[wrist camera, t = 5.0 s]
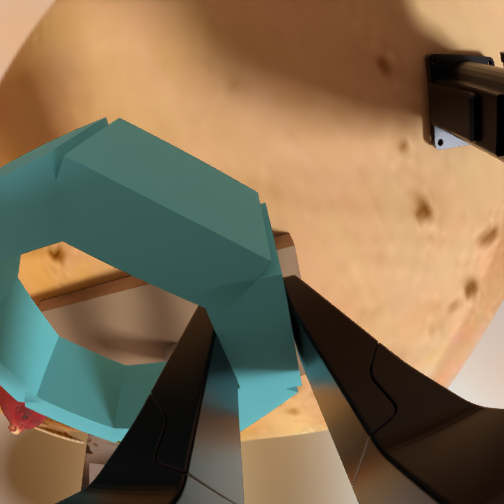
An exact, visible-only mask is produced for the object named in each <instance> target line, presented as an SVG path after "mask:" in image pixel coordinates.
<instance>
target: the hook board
mask: <svg viewBox="0 0 504 504" xmlns="http://www.w3.org/2000/svg"><path fill="white" fill-rule="evenodd" d="M274 241H275V245H276V250H277V254H278V258H279V263H280V267H281V272H282V276H283V277H286V276H290V275H296V276H297V277H299V278H300V279H301V277H300V271H299V266H298V260H297V255H296V250H295V245H294V243H293V240H292V238H291V236H290V233H287V234H284V235H280V236H276V237H274ZM37 307H38V308H39V310H40V311H41V313H42V314H43V315H44V317H45V318H46V319H47V321H48V322H49V323H50V325H51V326H52V327H53V329H54V330H55V331H56V333H57V334H58V335H59V336H60V337H62V338H64V339H66V340H68V341H71V342H73V343H75V344H77V345H79V346H81V347H84V348H86V349H88V350H90V351H93V352H95V353H97V354H99V355H102V356H104V357H107V358H109V359H111V360H114V361H116V362H119V363H121V364H124V365H137V364H147V363H156V362H165V361H168V359H169V357H170V355H171V353H172V352H173V350H174V348H175V346H176V344H177V343H178V341H179V339H180V337H181V335H182V334H183V332H184V330H185V328H186V326H187V325H188V323H189V321H190V319H191V317H192V316H193V314H194V312H195V310H196V308H197V307H198V305H197V304H194V303H192V302H190V301H187V300H185V299H183V298H180V297H178V296H176V295H174V294H171V293H169V292H167V291H165V290H162V289H160V288H158V287H156V286H154V285H151V284H149V283H147V282H145V281H143V280H141V279H138V278H136V277H134V276H129V277H125V278H121V279H118V280H114V281H110V282H107V283H103V284H100V285H96V286H93V287H89V288H85V289H82V290H78V291H75V292H71V293H68V294H64V295H60V296H57V297H53V298H50V299H46V300H43V301H40V302H39V304H38V306H37ZM294 343H295V342H294ZM295 348H296V345H295ZM296 354H297V360H298V366H299V372H300V376H301V375H304V374H306V373H305V371H304V368H303V366H302V363H301V361H300V358H299V355H298V352H297V349H296Z"/></svg>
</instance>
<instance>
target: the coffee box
mask: <svg viewBox="0 0 504 504" xmlns="http://www.w3.org/2000/svg"><path fill="white" fill-rule="evenodd" d="M119 443H120V441H119V440H118V441H117V442H116V443H114V442H111V441H108V440H105V439H102V438H99V437H97V436H94V435H91V434H88V440H87V447H86V455H85V463H84V470H83V478H82V487H81V490H83V489H84V488H86V487H87V486H88V485H89V484H90V483H91V482H92V481H93V480H94V479H95V478H96V476H97V475H98V474H99V472H100V471H101V470H102V468H103V467H104V465H105V464H106V462H107V461H108V459H109V458H110V456H111V455H112V454H113V452H114V451H115V449H116V448H117V446H118V445H119Z"/></svg>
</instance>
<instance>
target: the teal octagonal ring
mask: <svg viewBox="0 0 504 504" xmlns="http://www.w3.org/2000/svg"><path fill="white" fill-rule="evenodd" d="M62 241H63V242H65V243H67V244H69V245H71V246H73V247H75V248H77V249H79V250H81V251H83V252H85V253H87V254H89V255H91V256H93V257H95V258H97V259H99V260H101V261H103V262H105V263H107V264H109V265H111V266H113V267H115V268H117V269H119V270H121V271H124V272H126V273H128V274H130V275H132V276H134V277H136V278H138V279H141V280H143V281H145V282H147V283H149V284H151V285H154V286H156V287H158V288H160V289H162V290H165V291H167V292H169V293H171V294H174V295H176V296H178V297H180V298H183V299H185V300H187V301H190V302H192V303H194V304H197V305H199V306H201V307H204V308H205V309H206V311H207V314H208V316H209V318H210V321H211V323H212V325H213V328H214V330H215V332H216V334H217V336H218V338H219V340H220V343H221V345H222V347H223V349H224V352H225V354H226V356H227V358H228V361H229V363H230V365H231V367H232V369H233V372H234V374H235V376H236V378H237V385H238V405H239V424H240V431H242V430H244V429H245V428H247V427H248V426H250V425H251V424H253V423H254V422H256V421H257V420H259V419H260V418H262V417H263V416H265V415H266V414H268V413H269V412H271V411H272V410H274V409H275V408H276V407H278V406H279V405H281V404H282V403H284V402H285V401H286V400H288V399H289V398H291V397H292V396H293V395H295V394H296V393H297V392H298V390H297V386H301V385H302V383H301V378H300V372H299V366H298V360H297V354H296V348H295V343H294V337H293V331H292V326H291V320H290V314H289V309H288V303H287V298H286V293H285V287H284V282H283V276H282V272H281V267H280V263H279V258H278V254H277V250H276V245H275V241H274V237H273V233H272V228H271V224H270V220H269V216H268V211H267V207H266V203H262V204H260V201H259V196H258V192H256V191H254V190H253V189H251V188H249V187H247V186H246V185H244V184H242V183H240V182H239V181H237V180H235V179H233V178H232V177H230V176H228V175H226V174H224V173H223V172H221V171H219V170H217V169H215V168H214V167H212V166H210V165H208V164H206V163H205V162H203V161H201V160H199V159H197V158H195V157H194V156H192V155H190V154H188V153H186V152H184V151H183V150H181V149H179V148H177V147H175V146H173V145H171V144H169V143H167V142H166V141H164V140H162V139H160V138H158V137H156V136H154V135H152V134H150V133H148V132H146V131H144V130H142V129H140V128H138V127H136V126H135V125H133V124H131V123H129V122H127V121H125V120H123V119H121V118H119V119H117V120H115V121H114V122H112V123H111V124H109V125H108V122H107V119H106V118H103V119H100V120H98V121H95V122H93V123H91V124H88V125H86V126H83V127H81V128H79V129H76V130H74V131H72V132H70V133H67V134H65V135H63V136H61V137H59V138H56V139H54V140H52V141H50V142H48V143H46V144H44V145H42V146H40V147H38V148H36V149H34V150H32V151H30V152H28V153H26V154H24V155H22V156H21V157H19V158H17V159H15V160H13V161H11V162H10V163H8V164H6V165H4V166H3V167H1V168H0V385H1V386H2V387H3V388H4V389H5V390H6V391H7V392H8V393H9V394H10V395H11V396H12V397H13V398H14V399H16V400H17V401H18V402H25V407H27V408H29V409H31V410H34V411H36V412H38V413H40V414H42V415H44V416H47V417H49V418H51V419H53V420H56V421H58V422H60V423H63V424H65V425H68V426H70V427H73V428H75V429H78V430H80V431H83V432H86V433H88V434H91V435H94V436H97V437H99V438H102V439H105V440H108V441H111V442H114V443H116V442H117V441H118V440H119V441H120V442H121V441H122V439H123V438H124V436H125V434H126V433H127V431H128V430H129V428H130V427H131V425H132V424H133V422H134V421H135V419H136V417H137V415H138V414H139V412H140V410H141V408H142V407H143V405H144V403H145V401H146V399H147V397H148V395H149V394H151V390H152V388H153V386H154V385H155V383H156V381H157V379H158V377H159V375H160V374H161V372H162V370H163V368H164V366H165V364H166V363H167V361H165V362H156V363H147V364H137V365H124V364H121V363H119V362H116V361H114V360H111V359H109V358H107V357H104V356H102V355H99V354H97V353H95V352H93V351H90V350H88V349H86V348H84V347H81V346H79V345H77V344H75V343H73V342H71V341H68V340H66V339H64V338H62V337H60V336H59V335H58V334H57V333H56V331H55V330H54V329H53V327H52V326H51V325H50V323H49V322H48V321H47V319H46V318H45V317H44V315H43V314H42V313H41V311H40V310H39V308H38V307H37V306H36V304H35V303H34V301H33V300H32V298H31V297H30V295H29V294H28V292H27V291H26V289H25V288H24V286H23V285H22V283H21V282H20V280H19V279H18V272H19V264H20V257H21V254H24V253H27V252H30V251H33V250H36V249H39V248H42V247H45V246H49V245H52V244H55V243H58V242H62Z"/></svg>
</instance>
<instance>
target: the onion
mask: <svg viewBox="0 0 504 504" xmlns="http://www.w3.org/2000/svg"><path fill="white" fill-rule="evenodd" d="M0 406H1V409H2V411H3V413H4V415H5V416H6V418H7V419H8V420H9V422H10V426H9V427H8V428H9V430H10V431H11V433H12V434H18V433H20V432H21V431H23V430H24V429H31V428H34V427H37V426H38V425H40V424H41V423H42V422H43V421H44V420H45V419H46V418H47V416H44V415H42V414H40V413H38V412H36V411H34V410H31V409H29V408H27V407H25V402H18V401H17V400H16V399H14V398H13V397H12V396H11V395H10V394H9V393H8V392H7V391H6V390H5V389H4V388H3V387H2V386H1V385H0Z"/></svg>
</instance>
